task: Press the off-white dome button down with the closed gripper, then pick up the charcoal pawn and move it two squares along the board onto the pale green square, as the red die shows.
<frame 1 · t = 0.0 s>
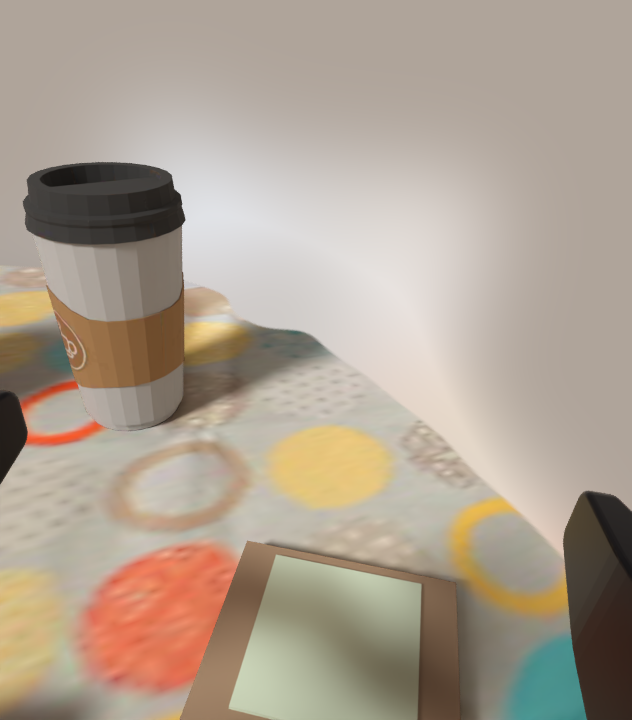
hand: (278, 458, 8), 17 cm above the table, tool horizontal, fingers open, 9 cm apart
coffee cup: (136, 406, 37), on the table
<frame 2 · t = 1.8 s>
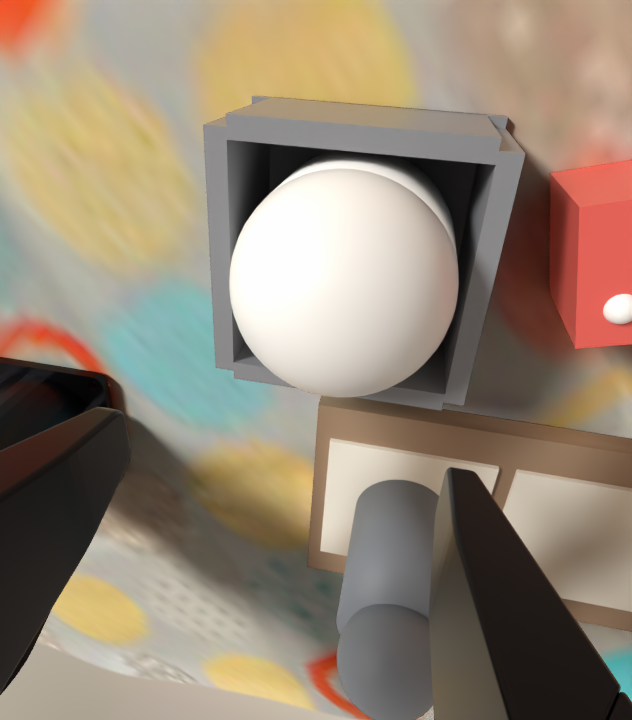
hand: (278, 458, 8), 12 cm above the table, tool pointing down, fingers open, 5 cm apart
pawn: (401, 514, 23), point 1 cm above the table, touching game board
dome: (342, 285, 14), point 5 cm above the table, slide at 0.0 cm
red die: (617, 226, 17), on the table
dome housing: (363, 229, 19), on the table
game board: (574, 524, 23), on the table
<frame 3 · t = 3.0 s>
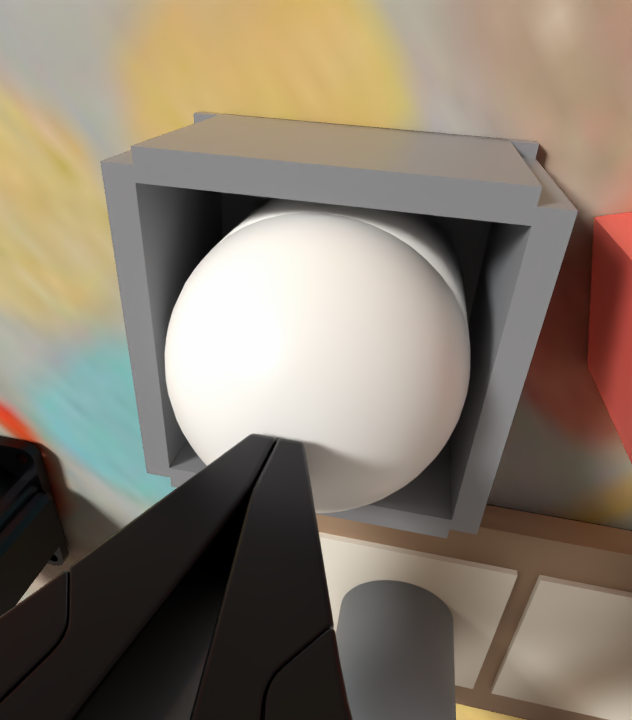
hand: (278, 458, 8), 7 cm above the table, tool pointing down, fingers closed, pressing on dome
pawn: (395, 617, 19), point 1 cm above the table, touching game board
dome: (317, 360, 11), point 4 cm above the table, slide at 1.0 cm, touching gripper
dome housing: (346, 283, 14), on the table
game board: (607, 631, 19), on the table
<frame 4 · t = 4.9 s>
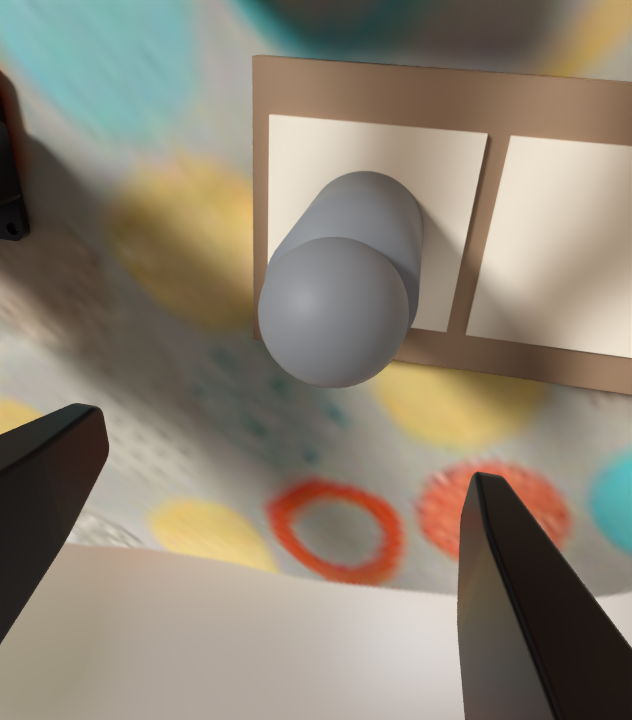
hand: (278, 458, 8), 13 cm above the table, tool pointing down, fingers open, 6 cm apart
pawn: (364, 231, 18), point 1 cm above the table, touching game board
game board: (585, 245, 18), on the table
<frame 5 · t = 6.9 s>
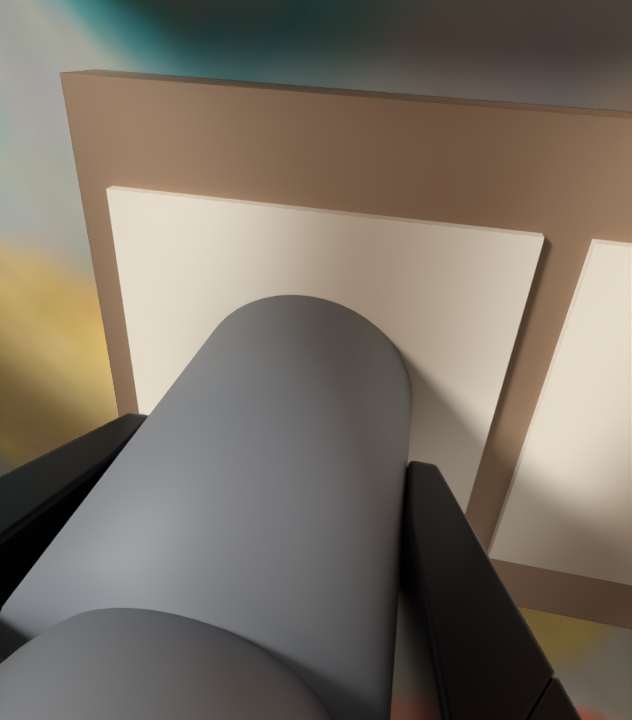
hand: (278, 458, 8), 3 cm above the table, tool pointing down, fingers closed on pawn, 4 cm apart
pawn: (302, 394, 10), point 1 cm above the table, touching game board, gripper
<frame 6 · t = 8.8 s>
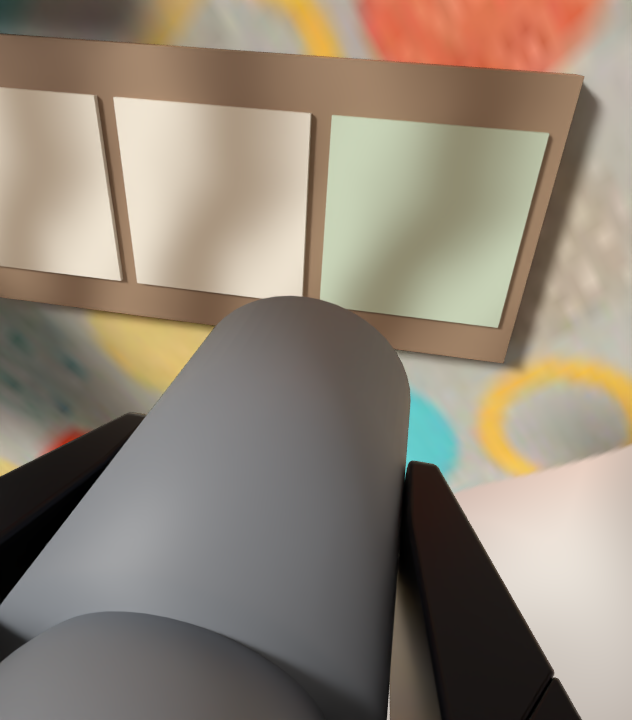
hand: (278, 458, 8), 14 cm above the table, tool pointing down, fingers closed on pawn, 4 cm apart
pawn: (300, 395, 10), point 12 cm above the table, touching gripper
game board: (224, 199, 21), on the table
when the fingers open (4 cm above the table, at t = 10.9 s): pawn drops 1 cm, resting on game board.
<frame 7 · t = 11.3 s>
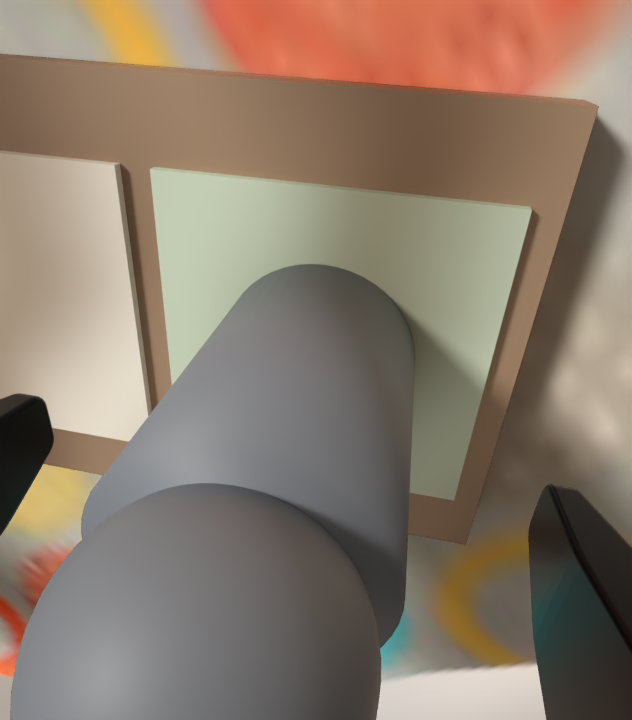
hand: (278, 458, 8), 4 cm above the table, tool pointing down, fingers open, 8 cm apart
pawn: (317, 355, 11), point 1 cm above the table, touching game board
game board: (30, 285, 13), on the table
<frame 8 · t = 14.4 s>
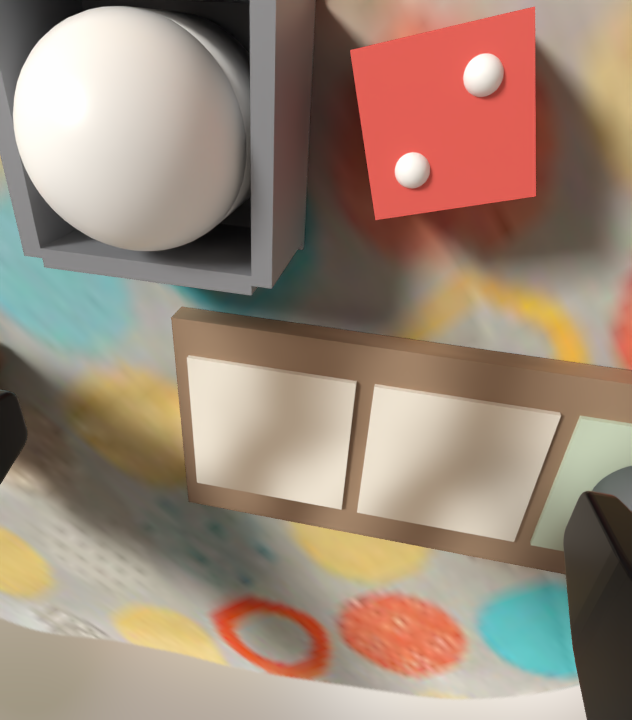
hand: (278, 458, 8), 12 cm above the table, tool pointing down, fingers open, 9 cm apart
dome: (140, 138, 14), point 4 cm above the table, slide at 1.1 cm
red die: (444, 107, 16), on the table
dome housing: (194, 120, 18), on the table
game board: (447, 449, 23), on the table
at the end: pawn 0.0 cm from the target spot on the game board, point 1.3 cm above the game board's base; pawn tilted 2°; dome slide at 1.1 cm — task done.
